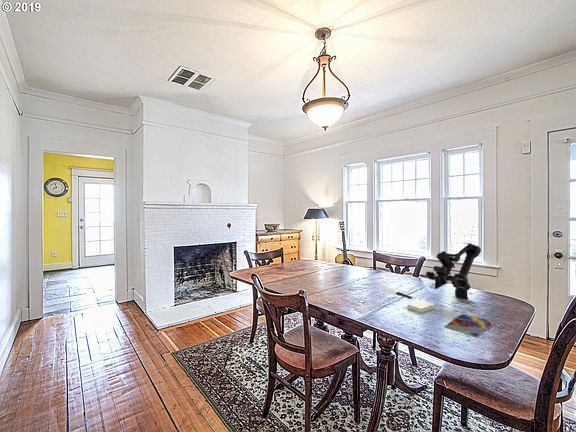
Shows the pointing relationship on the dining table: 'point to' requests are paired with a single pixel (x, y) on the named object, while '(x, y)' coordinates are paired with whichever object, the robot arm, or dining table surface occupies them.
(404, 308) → the sage rubber mat
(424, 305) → the standing glazed tile
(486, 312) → the dining table surface
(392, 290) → the kitchen cleaver
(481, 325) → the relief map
